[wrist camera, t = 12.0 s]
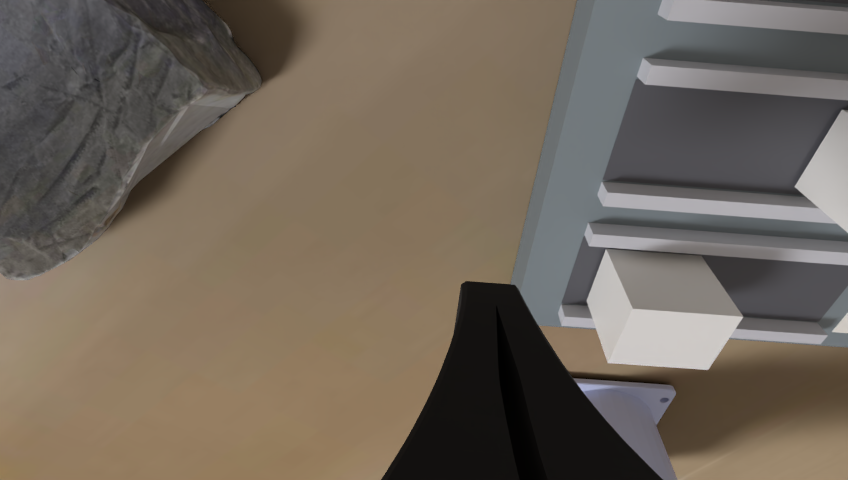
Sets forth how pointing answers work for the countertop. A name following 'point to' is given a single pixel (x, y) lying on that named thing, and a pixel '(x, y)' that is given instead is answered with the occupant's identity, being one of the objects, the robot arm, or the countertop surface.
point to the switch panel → (694, 158)
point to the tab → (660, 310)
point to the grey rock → (99, 112)
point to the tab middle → (830, 173)
